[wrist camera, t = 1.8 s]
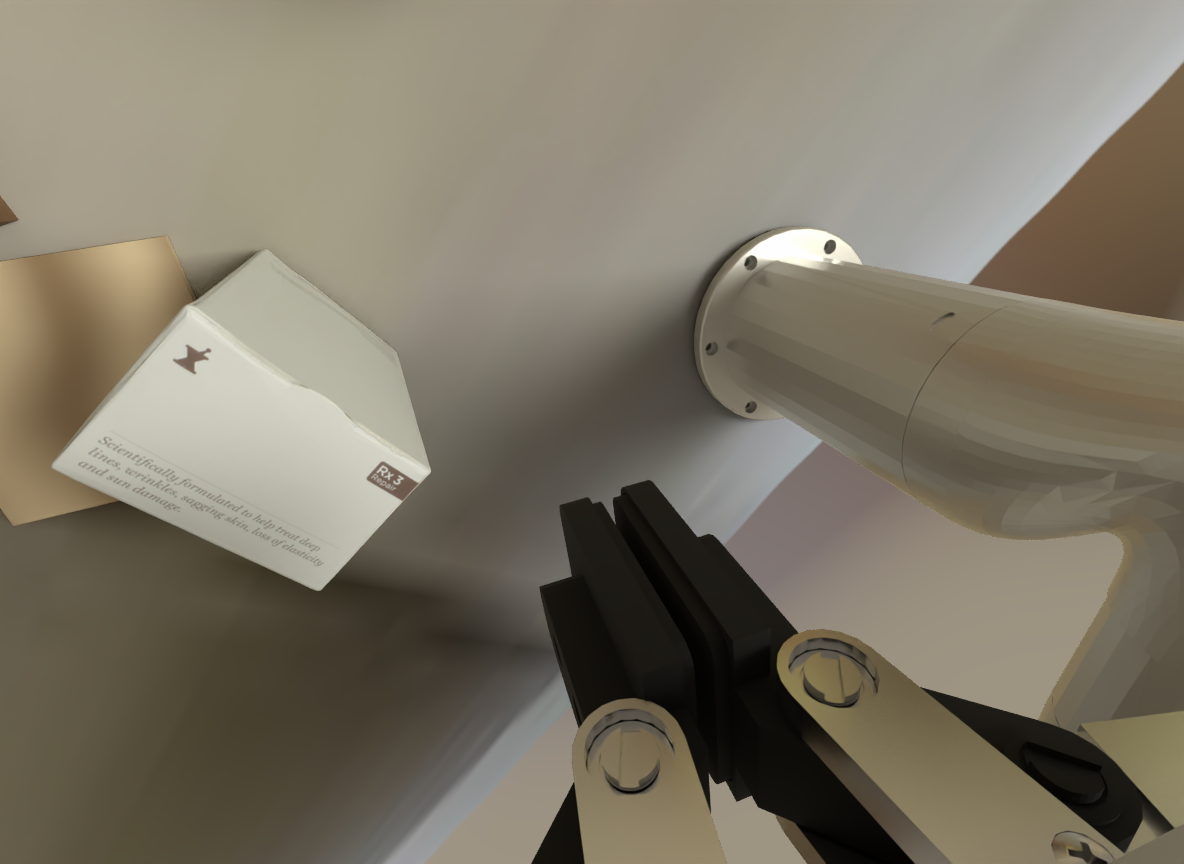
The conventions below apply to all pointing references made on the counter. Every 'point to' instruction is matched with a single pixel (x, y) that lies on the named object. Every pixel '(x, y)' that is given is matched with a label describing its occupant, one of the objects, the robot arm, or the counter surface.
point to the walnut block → (6, 213)
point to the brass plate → (72, 357)
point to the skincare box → (260, 426)
